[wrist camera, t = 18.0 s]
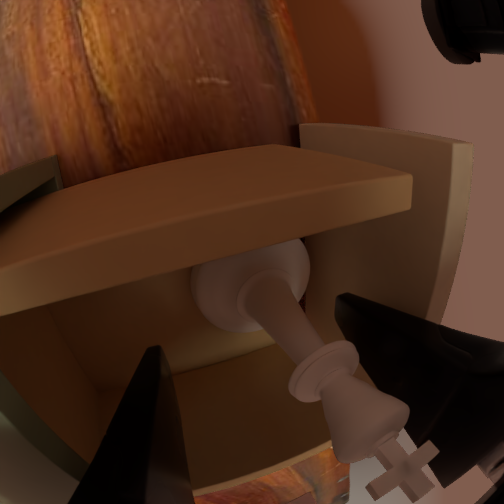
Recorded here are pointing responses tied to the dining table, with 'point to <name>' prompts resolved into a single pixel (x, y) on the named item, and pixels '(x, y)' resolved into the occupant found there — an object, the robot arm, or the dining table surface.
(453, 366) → the robot arm
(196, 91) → the dining table surface
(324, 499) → the dining table surface
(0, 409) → the cabinet
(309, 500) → the greeting card
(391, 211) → the drawer
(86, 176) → the dining table surface
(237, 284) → the chess piece
